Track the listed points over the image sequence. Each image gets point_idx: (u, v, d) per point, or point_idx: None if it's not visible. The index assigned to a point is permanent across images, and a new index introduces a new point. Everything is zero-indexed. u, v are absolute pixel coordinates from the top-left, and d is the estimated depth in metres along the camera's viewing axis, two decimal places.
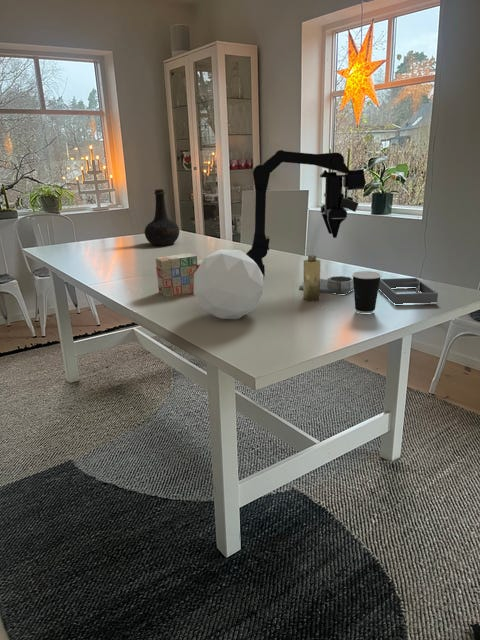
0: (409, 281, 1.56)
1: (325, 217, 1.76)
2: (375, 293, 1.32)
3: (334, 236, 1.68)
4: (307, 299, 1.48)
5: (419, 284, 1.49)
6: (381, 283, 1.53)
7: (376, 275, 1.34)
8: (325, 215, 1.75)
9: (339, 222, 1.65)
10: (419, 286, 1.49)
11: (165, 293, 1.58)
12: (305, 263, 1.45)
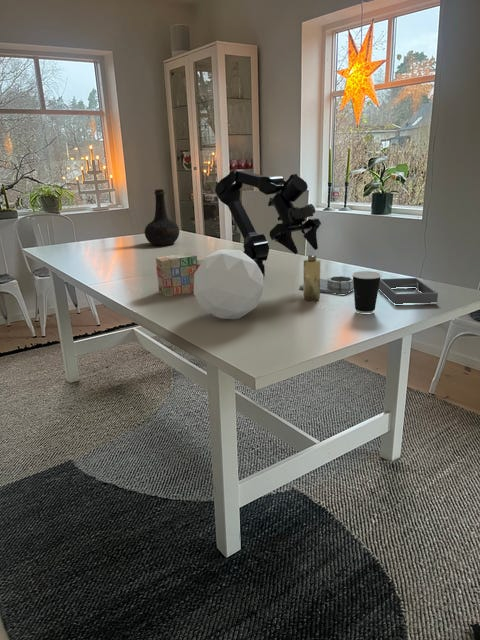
0: (409, 281, 1.56)
1: (306, 236, 1.60)
2: (375, 293, 1.32)
3: (295, 252, 1.52)
4: (307, 299, 1.48)
5: None
6: (381, 283, 1.53)
7: (376, 275, 1.34)
8: (305, 234, 1.60)
9: (287, 237, 1.51)
10: None
11: (165, 293, 1.58)
12: (305, 263, 1.45)
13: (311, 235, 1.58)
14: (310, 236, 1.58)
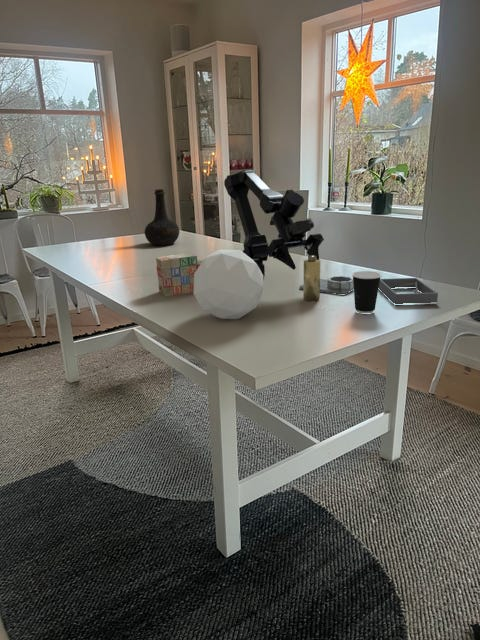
0: (409, 281, 1.56)
1: (309, 253, 1.55)
2: (375, 293, 1.32)
3: (293, 267, 1.47)
4: (307, 299, 1.48)
5: None
6: (381, 283, 1.53)
7: (376, 275, 1.34)
8: (308, 251, 1.55)
9: (283, 252, 1.47)
10: None
11: (165, 292, 1.59)
12: (305, 263, 1.45)
13: (313, 250, 1.52)
14: (312, 252, 1.53)
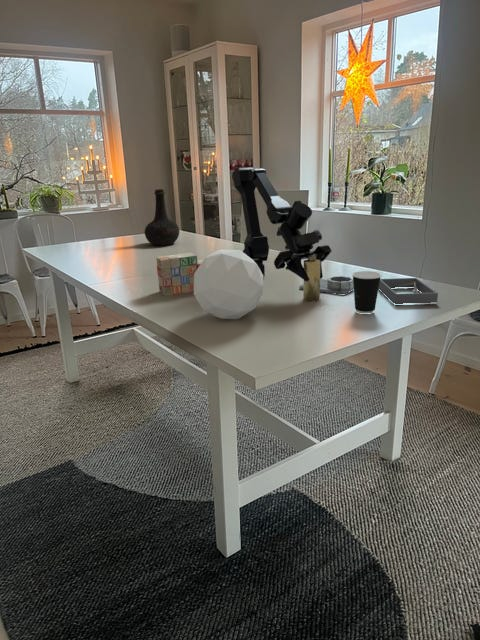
0: (409, 281, 1.56)
1: None
2: (375, 293, 1.32)
3: (305, 279, 1.46)
4: (307, 299, 1.48)
5: None
6: (381, 283, 1.53)
7: (376, 275, 1.34)
8: None
9: (296, 264, 1.46)
10: None
11: (165, 292, 1.59)
12: (305, 263, 1.45)
13: None
14: None
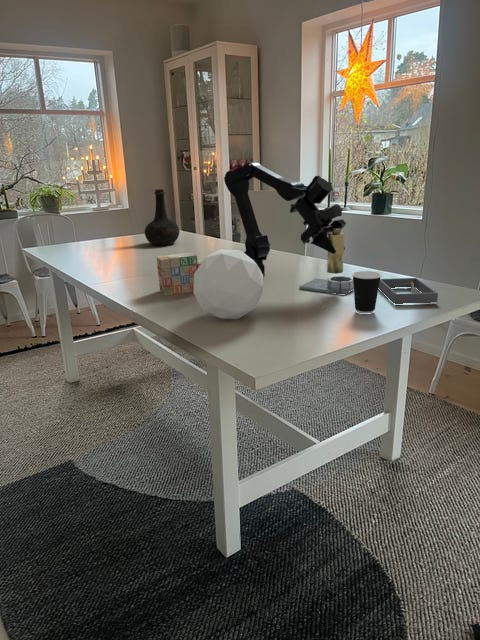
0: (409, 281, 1.56)
1: None
2: (375, 293, 1.32)
3: (333, 252, 1.49)
4: (333, 271, 1.52)
5: (413, 285, 1.51)
6: (381, 283, 1.53)
7: (376, 275, 1.34)
8: None
9: (323, 237, 1.48)
10: (413, 287, 1.51)
11: (164, 292, 1.60)
12: (332, 236, 1.49)
13: None
14: None
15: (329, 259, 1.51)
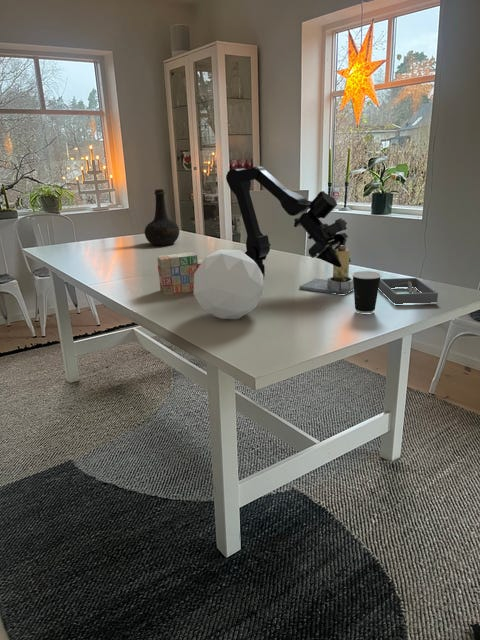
0: None
1: None
2: (375, 293, 1.32)
3: (338, 266, 1.53)
4: None
5: (410, 285, 1.51)
6: (381, 283, 1.53)
7: (376, 275, 1.34)
8: (333, 250, 1.61)
9: (329, 252, 1.52)
10: (410, 287, 1.52)
11: (164, 291, 1.60)
12: (338, 253, 1.53)
13: None
14: None
15: (335, 275, 1.56)
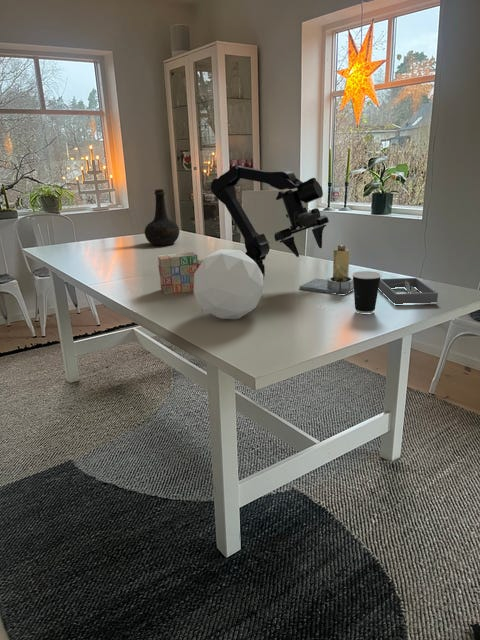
0: (409, 281, 1.56)
1: (313, 232, 1.66)
2: (375, 293, 1.32)
3: (296, 255, 1.62)
4: None
5: (408, 284, 1.52)
6: (381, 283, 1.53)
7: (376, 275, 1.34)
8: (313, 230, 1.66)
9: (289, 242, 1.60)
10: (408, 286, 1.52)
11: (164, 290, 1.61)
12: (338, 252, 1.53)
13: (317, 233, 1.64)
14: (316, 234, 1.65)
15: (335, 275, 1.56)
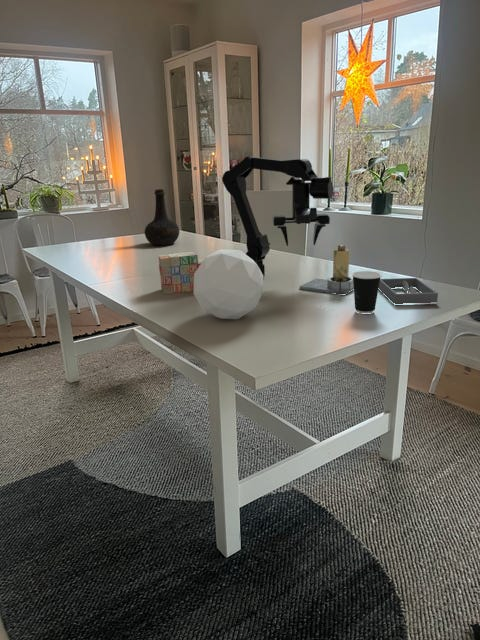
0: (409, 281, 1.56)
1: (314, 226, 1.66)
2: (375, 293, 1.32)
3: (286, 244, 1.66)
4: None
5: (406, 284, 1.52)
6: (381, 283, 1.53)
7: (376, 275, 1.34)
8: None
9: None
10: (406, 286, 1.52)
11: (164, 290, 1.61)
12: (338, 252, 1.53)
13: (315, 230, 1.64)
14: (315, 230, 1.64)
15: (335, 275, 1.56)
